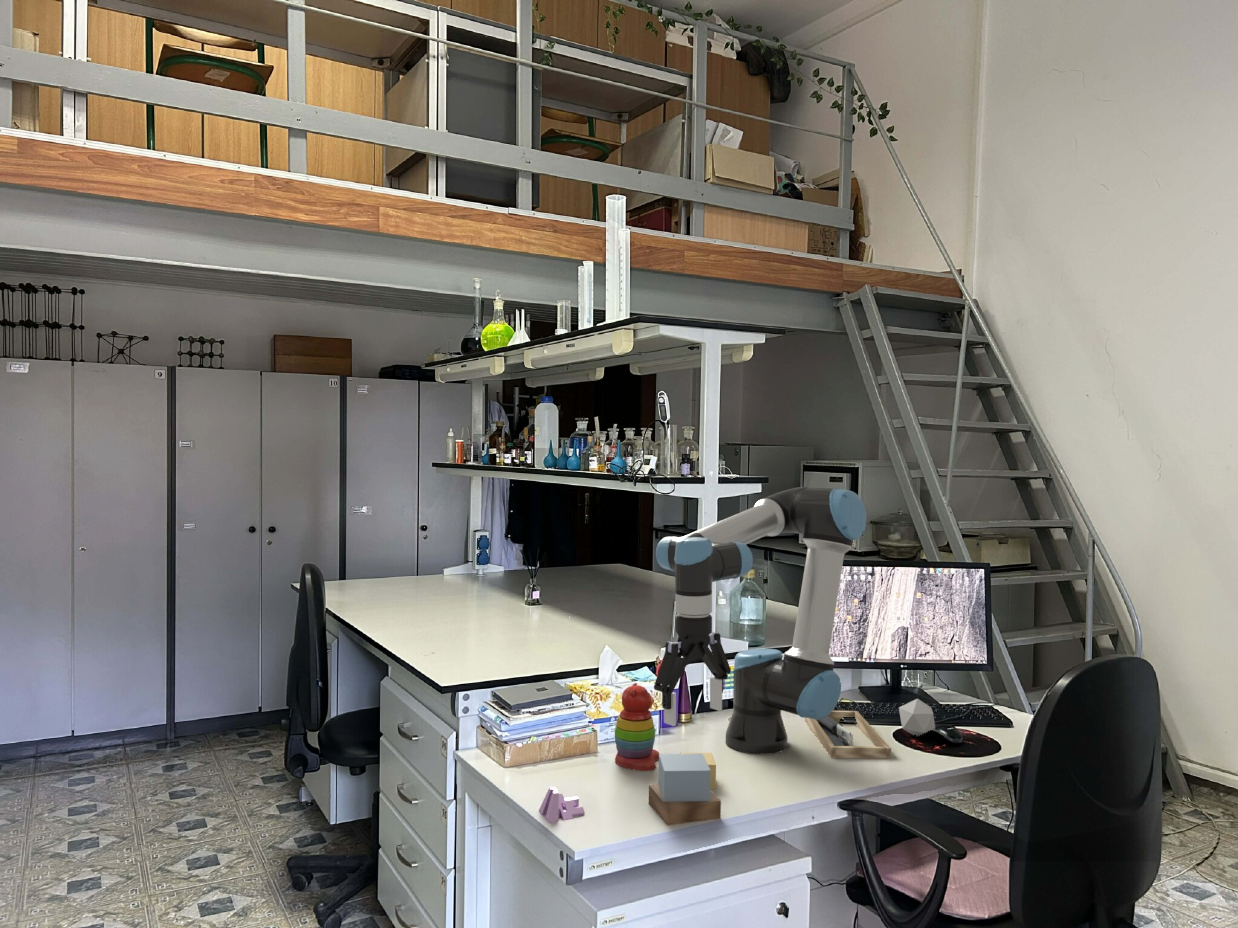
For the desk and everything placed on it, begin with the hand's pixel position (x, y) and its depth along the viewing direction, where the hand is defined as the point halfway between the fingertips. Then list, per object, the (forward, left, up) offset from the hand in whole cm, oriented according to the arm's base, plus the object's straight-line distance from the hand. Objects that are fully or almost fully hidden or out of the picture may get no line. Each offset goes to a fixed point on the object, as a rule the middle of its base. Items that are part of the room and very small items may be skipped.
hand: (693, 716), depth 174 cm
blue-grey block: (+2, +6, -13) cm, 15 cm away
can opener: (-38, -39, -18) cm, 57 cm away
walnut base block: (+2, +6, -18) cm, 19 cm away
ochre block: (-2, -9, -18) cm, 20 cm away
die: (-61, -42, -18) cm, 76 cm away
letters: (+26, +8, -18) cm, 33 cm away
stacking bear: (+11, -22, -18) cm, 31 cm away
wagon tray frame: (-42, -39, -18) cm, 60 cm away
